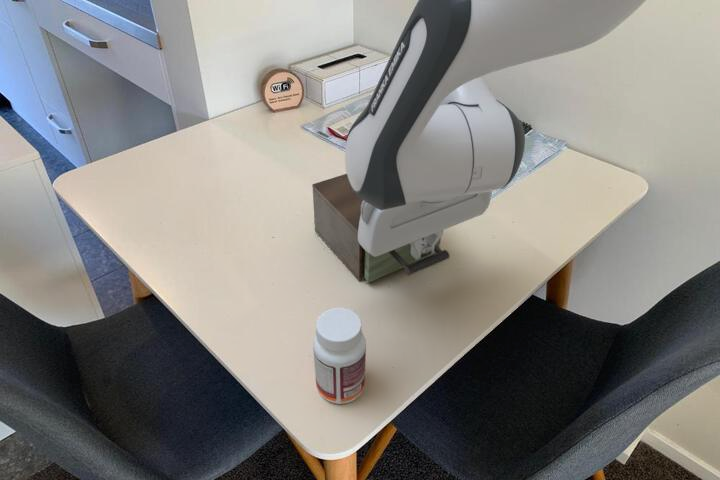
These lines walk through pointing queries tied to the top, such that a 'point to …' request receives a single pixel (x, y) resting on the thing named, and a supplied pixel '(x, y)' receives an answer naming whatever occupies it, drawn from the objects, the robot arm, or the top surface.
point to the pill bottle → (339, 355)
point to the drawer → (400, 261)
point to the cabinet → (339, 221)
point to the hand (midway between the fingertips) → (422, 254)
